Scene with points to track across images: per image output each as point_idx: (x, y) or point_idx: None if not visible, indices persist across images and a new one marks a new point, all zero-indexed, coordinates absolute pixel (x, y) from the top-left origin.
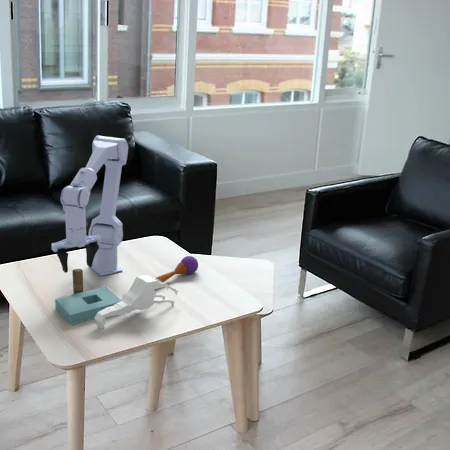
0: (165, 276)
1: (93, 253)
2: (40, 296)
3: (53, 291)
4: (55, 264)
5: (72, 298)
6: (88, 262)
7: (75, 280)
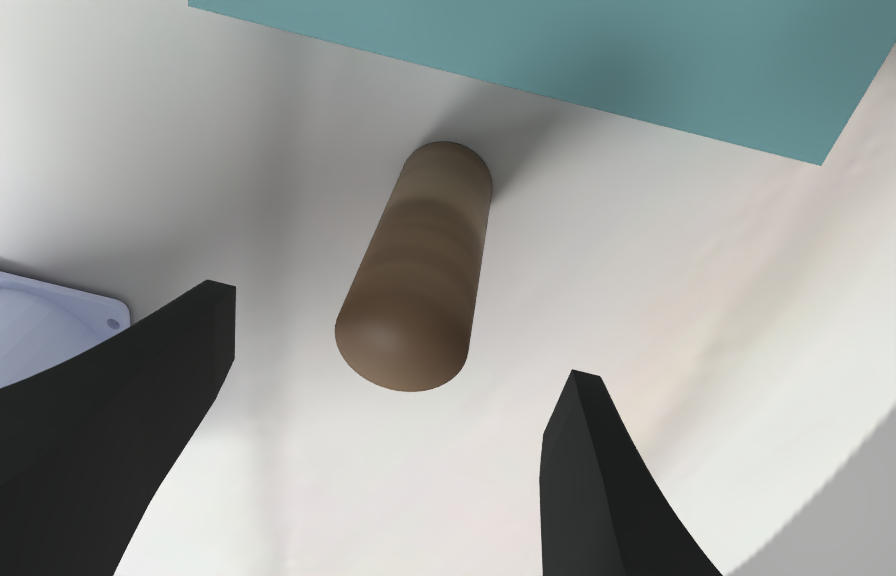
0: None
1: (28, 414)
2: (689, 361)
3: (561, 355)
4: (317, 568)
5: (690, 28)
6: (207, 359)
7: (472, 259)
